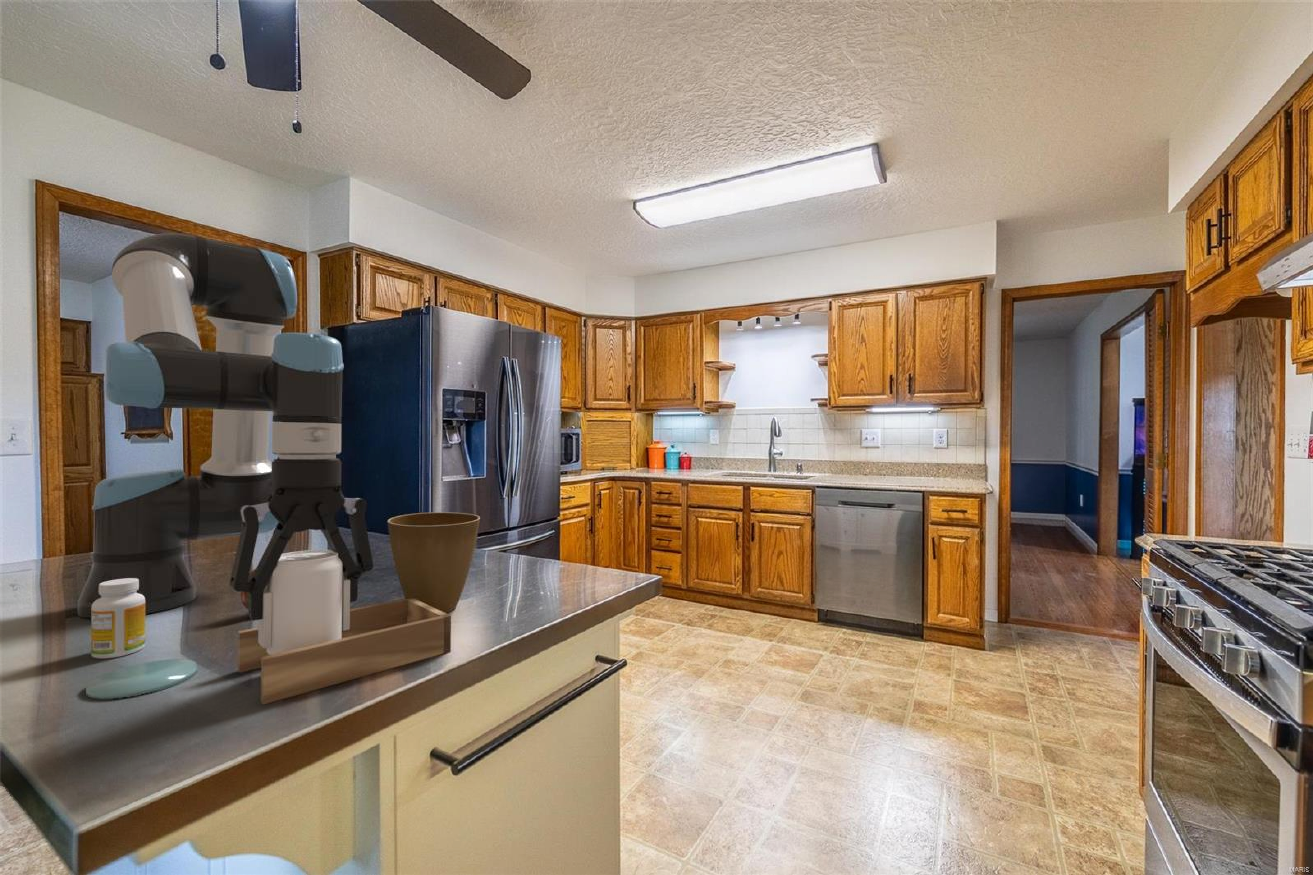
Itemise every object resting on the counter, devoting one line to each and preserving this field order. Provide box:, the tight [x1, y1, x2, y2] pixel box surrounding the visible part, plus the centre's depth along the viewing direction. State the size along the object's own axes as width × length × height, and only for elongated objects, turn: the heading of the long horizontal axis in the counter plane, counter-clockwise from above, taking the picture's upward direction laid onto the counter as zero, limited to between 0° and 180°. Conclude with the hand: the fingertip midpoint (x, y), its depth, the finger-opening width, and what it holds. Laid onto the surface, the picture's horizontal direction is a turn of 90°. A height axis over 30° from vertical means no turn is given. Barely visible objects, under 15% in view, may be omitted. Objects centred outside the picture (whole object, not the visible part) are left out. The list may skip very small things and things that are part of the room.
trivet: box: [85, 658, 198, 700], centre depth 69 cm, size 10×10×1 cm
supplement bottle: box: [90, 578, 146, 660], centre depth 78 cm, size 5×5×10 cm
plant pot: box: [386, 511, 481, 614], centre depth 98 cm, size 15×15×16 cm
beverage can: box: [267, 549, 343, 655], centre depth 72 cm, size 8×8×12 cm
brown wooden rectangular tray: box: [237, 597, 452, 705], centre depth 75 cm, size 13×22×5 cm, turn 137°
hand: (305, 635), depth 72 cm, fingers closed on beverage can, 8 cm apart
